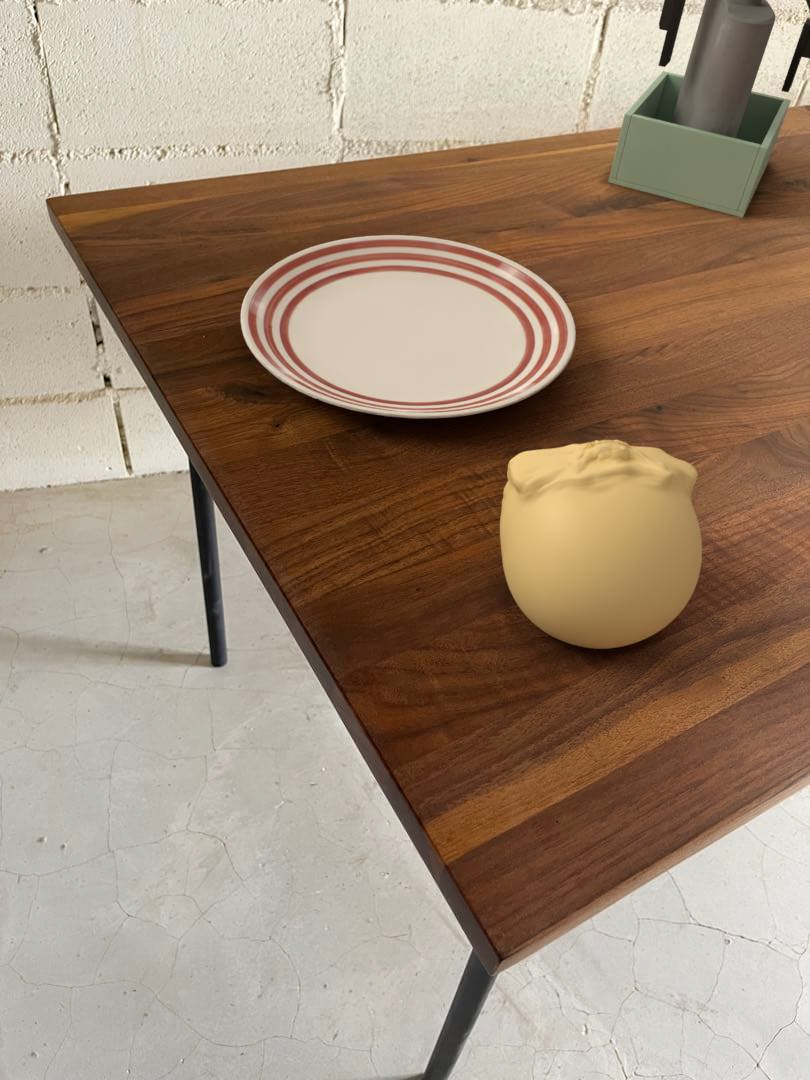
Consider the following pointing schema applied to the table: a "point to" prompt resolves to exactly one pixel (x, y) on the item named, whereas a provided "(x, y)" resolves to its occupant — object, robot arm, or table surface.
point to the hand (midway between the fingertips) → (724, 76)
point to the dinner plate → (408, 326)
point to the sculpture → (600, 540)
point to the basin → (695, 150)
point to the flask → (723, 65)
